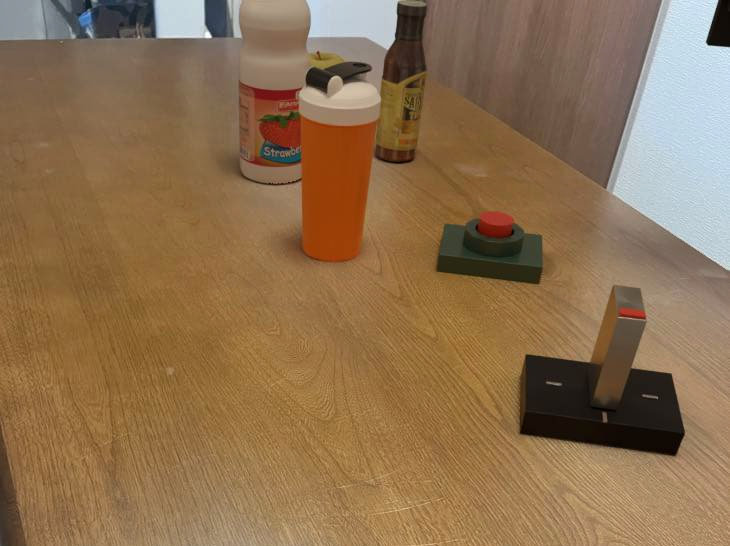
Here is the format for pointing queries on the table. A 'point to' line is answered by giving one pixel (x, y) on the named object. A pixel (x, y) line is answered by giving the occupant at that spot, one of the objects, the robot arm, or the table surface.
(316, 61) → the apple
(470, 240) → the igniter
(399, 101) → the sauce bottle
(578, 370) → the panel
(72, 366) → the table surface
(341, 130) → the shaker bottle
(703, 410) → the table surface
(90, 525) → the table surface
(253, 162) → the fruit juice
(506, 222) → the button
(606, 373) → the grey tall block
